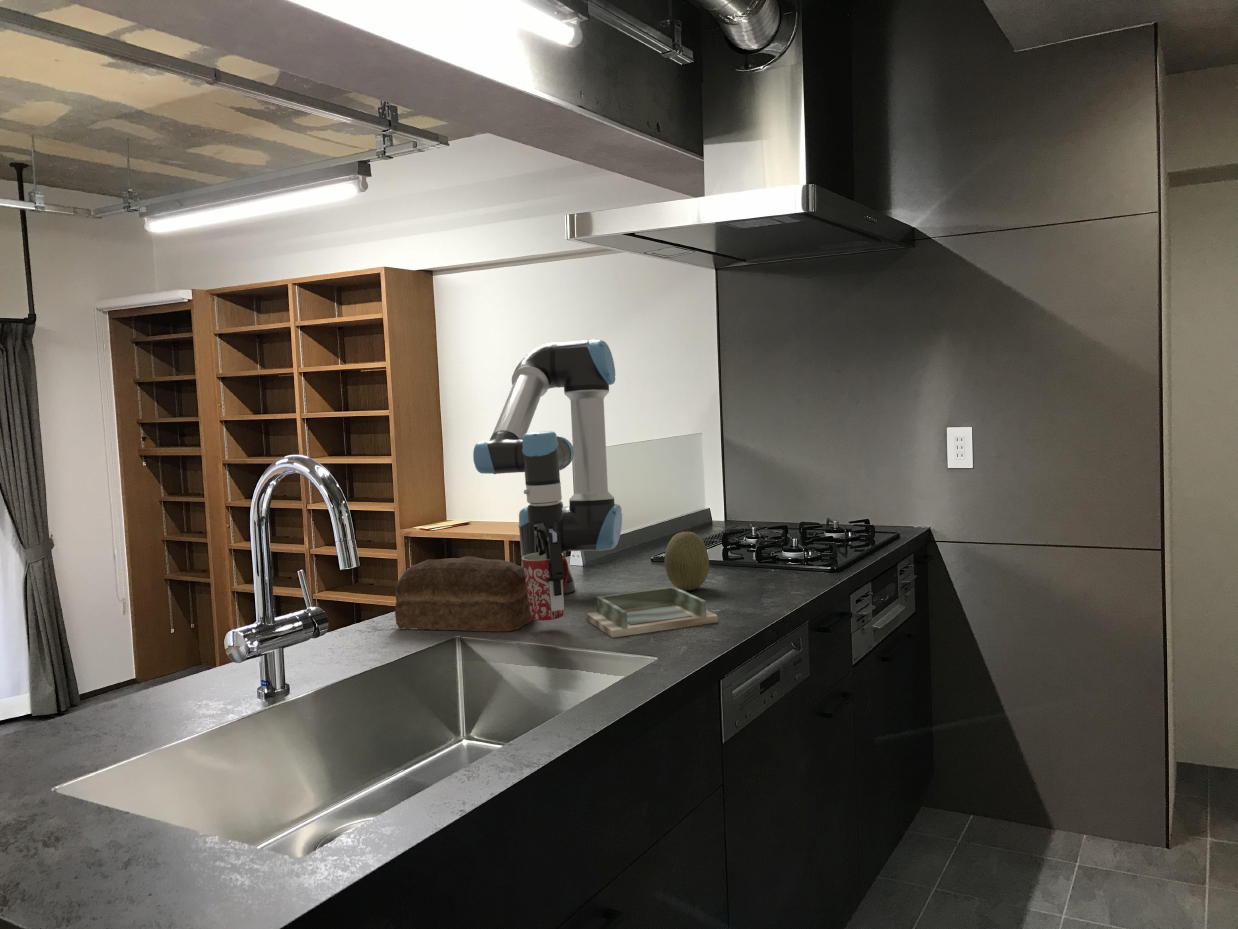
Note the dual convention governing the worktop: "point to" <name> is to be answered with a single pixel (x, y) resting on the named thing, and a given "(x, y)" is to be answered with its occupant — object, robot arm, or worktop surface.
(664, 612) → the tray
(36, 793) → the worktop surface
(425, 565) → the bread
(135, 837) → the worktop surface
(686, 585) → the fruit
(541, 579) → the mug
